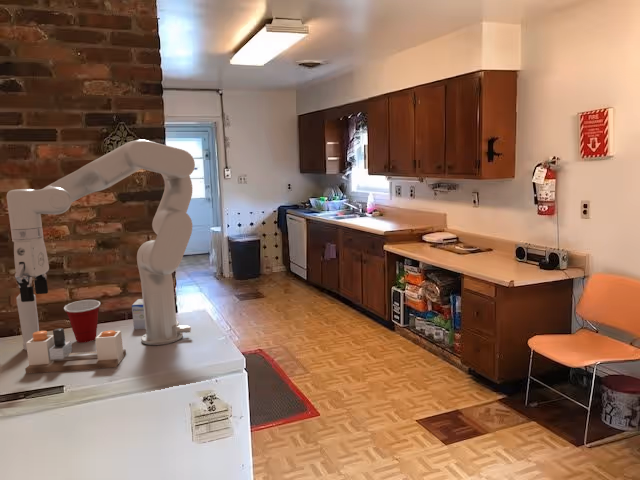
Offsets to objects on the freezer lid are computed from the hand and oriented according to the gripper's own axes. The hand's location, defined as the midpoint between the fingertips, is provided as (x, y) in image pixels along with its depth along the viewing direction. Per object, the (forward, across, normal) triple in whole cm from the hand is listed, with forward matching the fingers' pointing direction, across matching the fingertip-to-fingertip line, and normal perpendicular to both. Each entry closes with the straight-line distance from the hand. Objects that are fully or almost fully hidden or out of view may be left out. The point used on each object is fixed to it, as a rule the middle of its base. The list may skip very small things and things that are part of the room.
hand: (35, 297), depth 146 cm
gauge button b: (+12, 0, 0) cm, 12 cm away
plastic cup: (+20, +21, -4) cm, 30 cm away
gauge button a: (+13, 0, -19) cm, 23 cm away
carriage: (+17, 0, -5) cm, 18 cm away
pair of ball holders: (+20, 0, -9) cm, 22 cm away
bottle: (+20, +17, +11) cm, 29 cm away
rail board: (+20, 0, -9) cm, 22 cm away
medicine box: (+20, +33, -19) cm, 43 cm away
